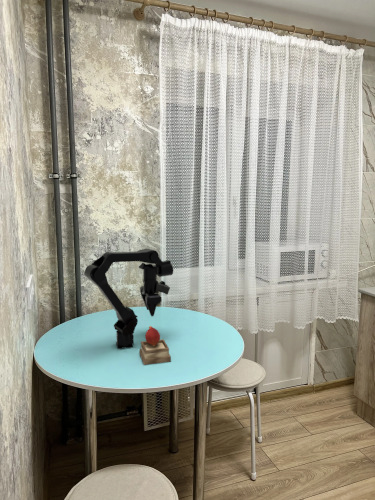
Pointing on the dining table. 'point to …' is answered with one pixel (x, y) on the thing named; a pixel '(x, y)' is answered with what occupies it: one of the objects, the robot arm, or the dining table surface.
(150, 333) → the pomegranate
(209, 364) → the dining table surface
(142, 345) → the pedestal
